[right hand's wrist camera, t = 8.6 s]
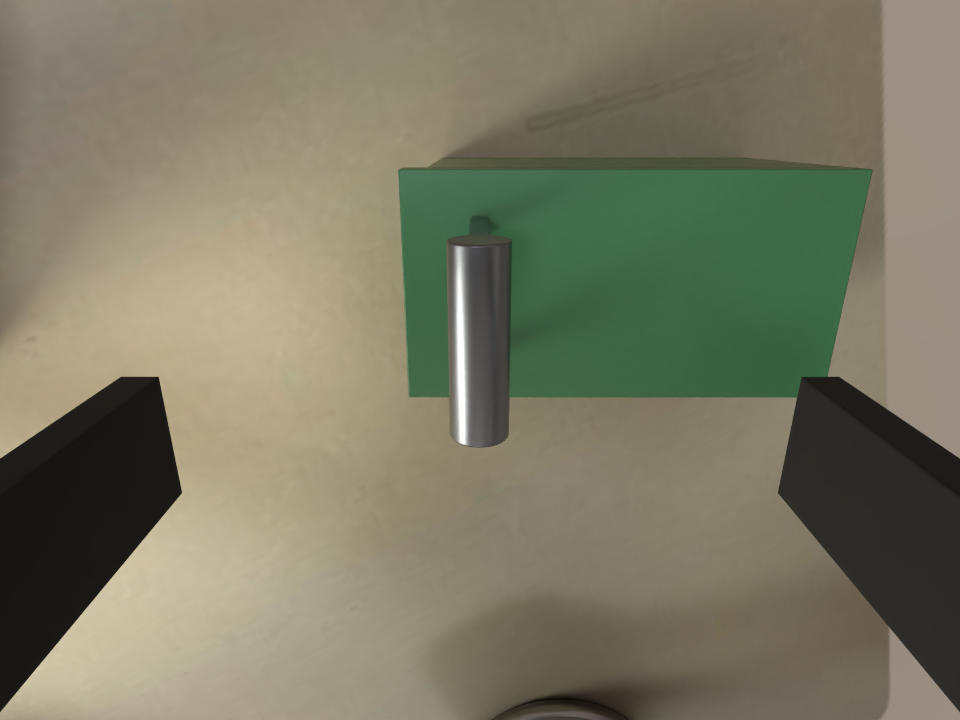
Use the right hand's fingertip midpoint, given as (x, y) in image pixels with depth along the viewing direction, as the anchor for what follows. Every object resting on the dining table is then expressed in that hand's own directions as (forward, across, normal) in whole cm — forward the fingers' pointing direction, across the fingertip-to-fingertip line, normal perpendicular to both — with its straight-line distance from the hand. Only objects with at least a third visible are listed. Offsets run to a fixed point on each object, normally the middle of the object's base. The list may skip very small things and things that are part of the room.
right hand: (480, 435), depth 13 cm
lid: (+14, -6, 0) cm, 15 cm away
